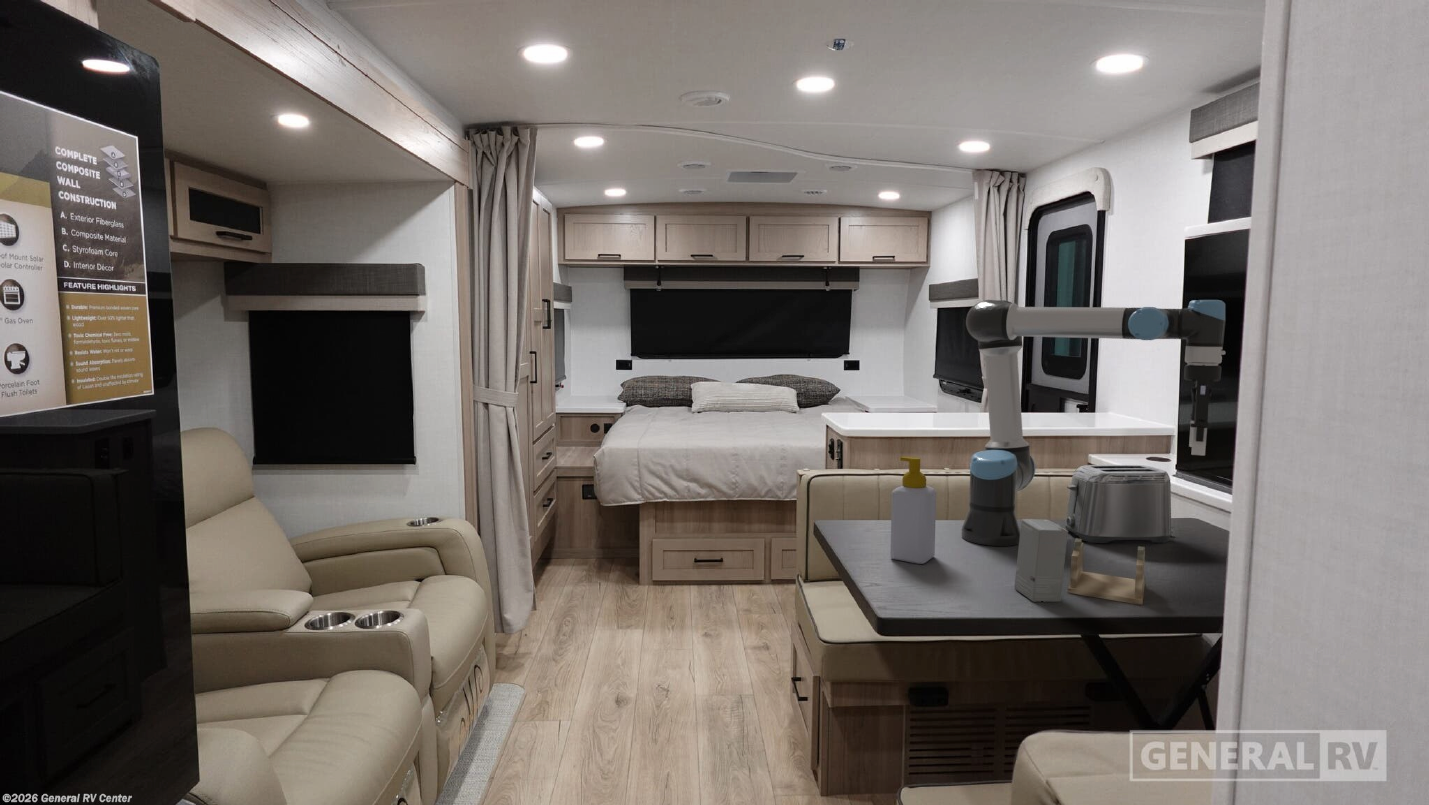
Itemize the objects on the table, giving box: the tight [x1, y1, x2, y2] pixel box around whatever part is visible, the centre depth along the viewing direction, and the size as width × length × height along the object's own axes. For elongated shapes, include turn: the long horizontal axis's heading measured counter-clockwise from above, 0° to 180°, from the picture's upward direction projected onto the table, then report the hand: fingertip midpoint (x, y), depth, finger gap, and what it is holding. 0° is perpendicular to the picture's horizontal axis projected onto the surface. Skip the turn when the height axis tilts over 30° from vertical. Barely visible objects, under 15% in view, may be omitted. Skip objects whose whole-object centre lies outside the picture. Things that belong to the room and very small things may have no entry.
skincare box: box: [1014, 518, 1069, 603], centre depth 160 cm, size 8×7×16 cm
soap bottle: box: [889, 456, 937, 565], centre depth 186 cm, size 9×9×25 cm
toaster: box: [1064, 464, 1173, 544], centre depth 204 cm, size 17×30×19 cm, turn 88°
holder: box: [1067, 537, 1146, 606], centre depth 164 cm, size 14×14×10 cm
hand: (1196, 451), depth 184 cm, fingers open, 13 cm apart
